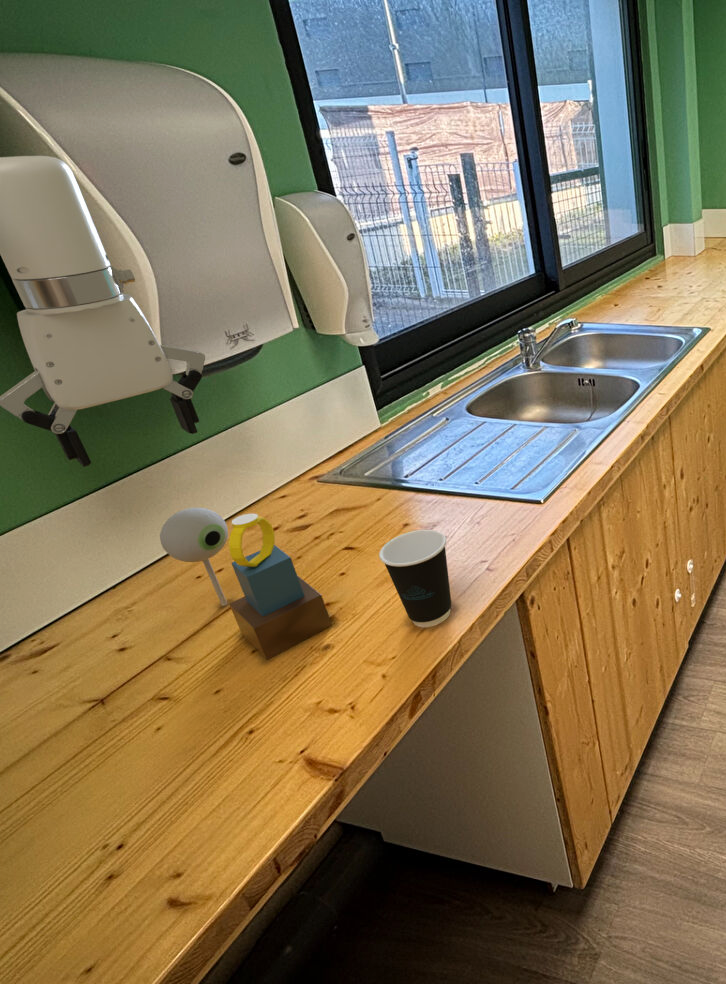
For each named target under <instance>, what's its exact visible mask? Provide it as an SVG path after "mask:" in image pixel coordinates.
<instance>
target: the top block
mask: <svg viewBox="0 0 726 984" xmlns="http://www.w3.org/2000/svg"><path fill="white" fill-rule="evenodd" d="M260 551H261V549H260V550H258V551H256V552H253V553H251V554H249V555H245V556H244V557H245V558H246V559H247V560H248V562H249V561H250V560H252V559H253V558H254V557H256V556H257V555H258V554H260ZM231 566H232V569H233V571H234V573H235V575H236V578H237V581H238V583H239V586H240V589H241V590H242V594H243V595H244V597H245V598H246V600H247V602H248V603H249V604H250V605H251V606H252V607H253V608H254V609H255V610H256V611H257V612H258V613H259V614H261V615H262V616H265V615H267V614H269V613H271V612H273V611H276V610H278V609H280V608H282V607H284V606H286V605H288V604H290V603H292V602H294V601H296V600H298V599H300V598H302V597H304V593H303V590H302V587H301V585H300V582H299V579H298V576H299V575H298V574H297V571H296V568H295V565H294V563H293V560H292V557H291V556H290V555H288V554H287V553H286V552H285V551H283V550H282V549H280V547H278V546H277V545H276V544H274V547H273V550H272V553H271V555H269V556H268V557H267V558H266V559H264V560H263V561H262V562H261V563H259V564H258V566H255V567H245V566H240V565H238V564H237V563H236V562H235V561H232V562H231Z"/></svg>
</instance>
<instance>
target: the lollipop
mask: <svg viewBox="0 0 726 984" xmlns="http://www.w3.org/2000/svg"><path fill="white" fill-rule="evenodd" d="M228 538H229V529H228V525H227V522H226V521H225V519H224V518H223V517H222V516H221V515H220V514H218V513H217V512H216V511H213V510H212V509H208V508H206V507H205V508H204V507H190V508H189V507H188V508H185V509H182V510H178V511H177V512H175V513H174V514H172V515H171V516H169V518H167V520H166V521H165V522H164V524H163V525H162V527H161V530H160V533H159V540H160V544H161V547H162V549H163V550H164V551H165V553H166V554H168V555H169V556H170V557H171V558H173V559H175V560H178V561H180V562H185V563H198V562H199V563H200V562H202V564H203V565H204V567H205V570H206V572H207V574H208V576H209V579H210V582H211V584H212V586H213V588H214V590H215V593H216V595H217V598H218V600H219V602H220V605H221V607H225V606H227V605H228V601H227V598H226V597H225V594H224V591H223V589H222V587H221V584H220V582H219V579H218V578H217V575H216V573H215V571H214V569H213V565H212V564H211V561H210V559H211V558H213V557H214V556H216V555H217V554H219V553H220V552H221V551H222V550H223V548H224V547H225V545H226V544H227V541H228Z"/></svg>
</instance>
